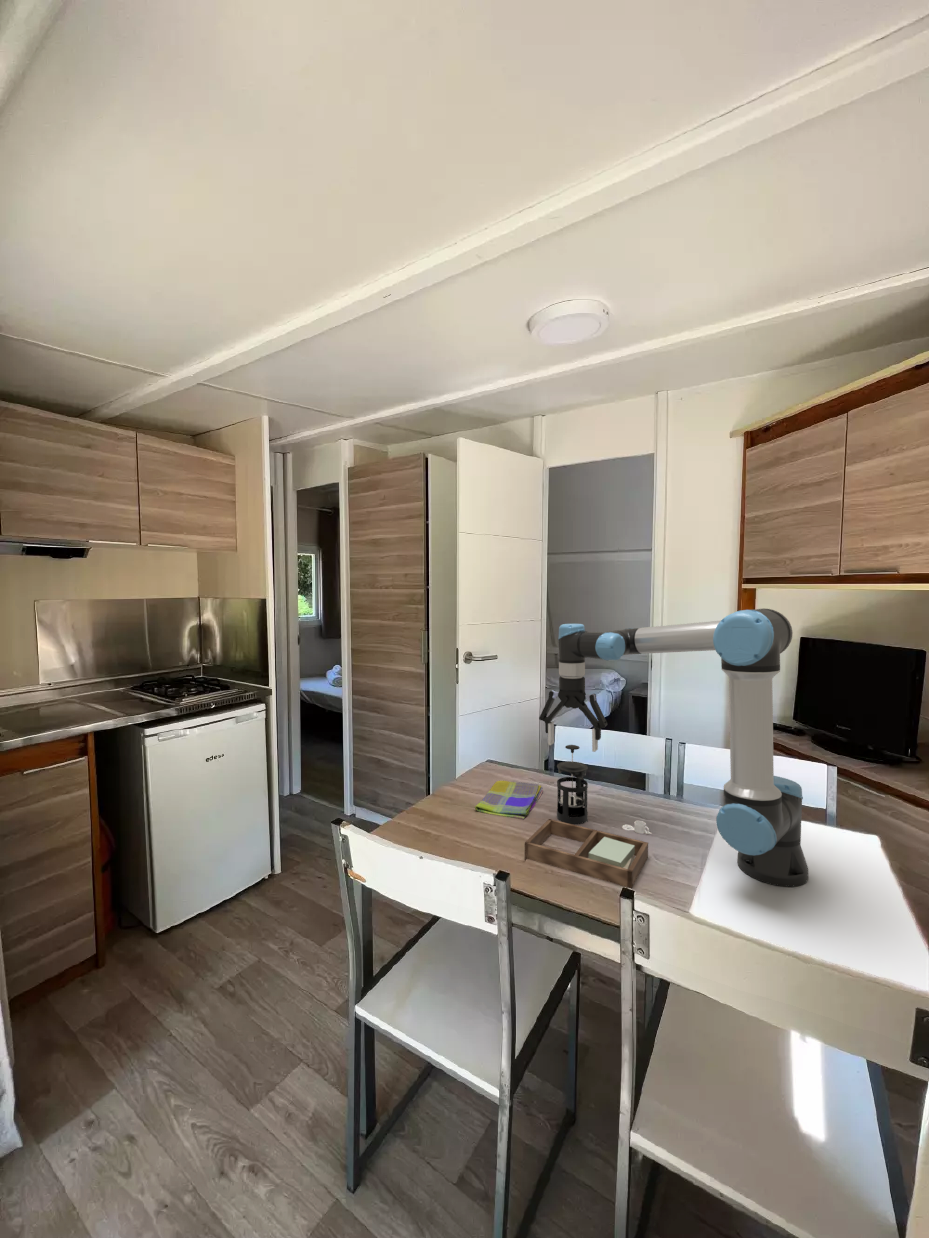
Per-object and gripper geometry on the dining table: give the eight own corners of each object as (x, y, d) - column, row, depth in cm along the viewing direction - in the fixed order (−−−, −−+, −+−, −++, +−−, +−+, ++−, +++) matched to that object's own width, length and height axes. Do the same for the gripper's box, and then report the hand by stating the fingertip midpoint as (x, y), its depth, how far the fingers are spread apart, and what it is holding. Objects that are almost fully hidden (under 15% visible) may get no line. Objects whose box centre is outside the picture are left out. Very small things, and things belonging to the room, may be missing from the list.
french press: (579, 832, 151) (579, 753, 149) (549, 823, 157) (549, 747, 155) (595, 817, 160) (596, 743, 159) (567, 810, 166) (567, 738, 164)
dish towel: (472, 812, 166) (471, 804, 166) (496, 785, 189) (496, 777, 188) (526, 821, 160) (526, 812, 159) (544, 791, 182) (544, 783, 182)
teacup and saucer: (617, 831, 152) (617, 817, 152) (640, 827, 155) (641, 813, 154) (636, 845, 144) (636, 831, 144) (660, 841, 146) (661, 826, 146)
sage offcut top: (634, 853, 133) (634, 845, 133) (620, 870, 125) (620, 862, 125) (604, 844, 138) (604, 836, 138) (588, 860, 130) (588, 852, 130)
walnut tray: (647, 861, 135) (648, 842, 135) (631, 893, 121) (631, 872, 121) (549, 835, 149) (549, 818, 149) (524, 861, 136) (524, 842, 135)
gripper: (618, 677, 152) (618, 749, 154) (538, 671, 165) (538, 738, 167) (610, 681, 146) (610, 756, 147) (527, 675, 159) (528, 744, 160)
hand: (572, 747), depth 157 cm, fingers open, 13 cm apart
